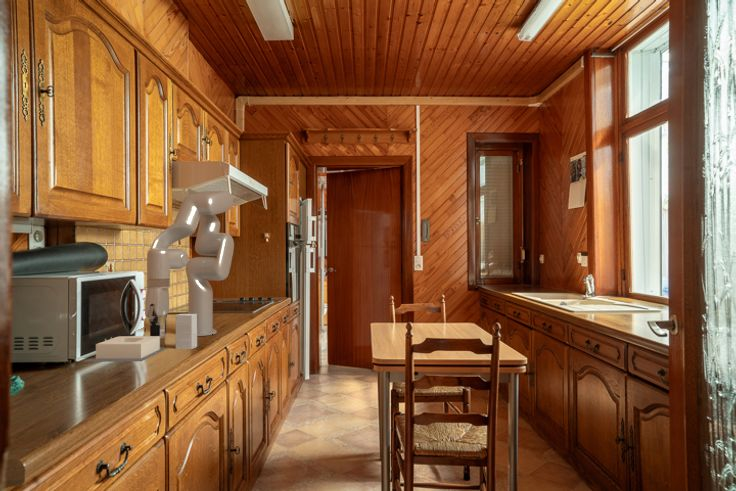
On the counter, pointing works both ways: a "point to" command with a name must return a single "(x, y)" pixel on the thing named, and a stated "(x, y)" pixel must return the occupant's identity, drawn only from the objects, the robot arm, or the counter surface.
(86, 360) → the slate mat
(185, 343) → the skincare box
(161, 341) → the sprinkles bottle
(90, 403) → the counter surface
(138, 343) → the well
